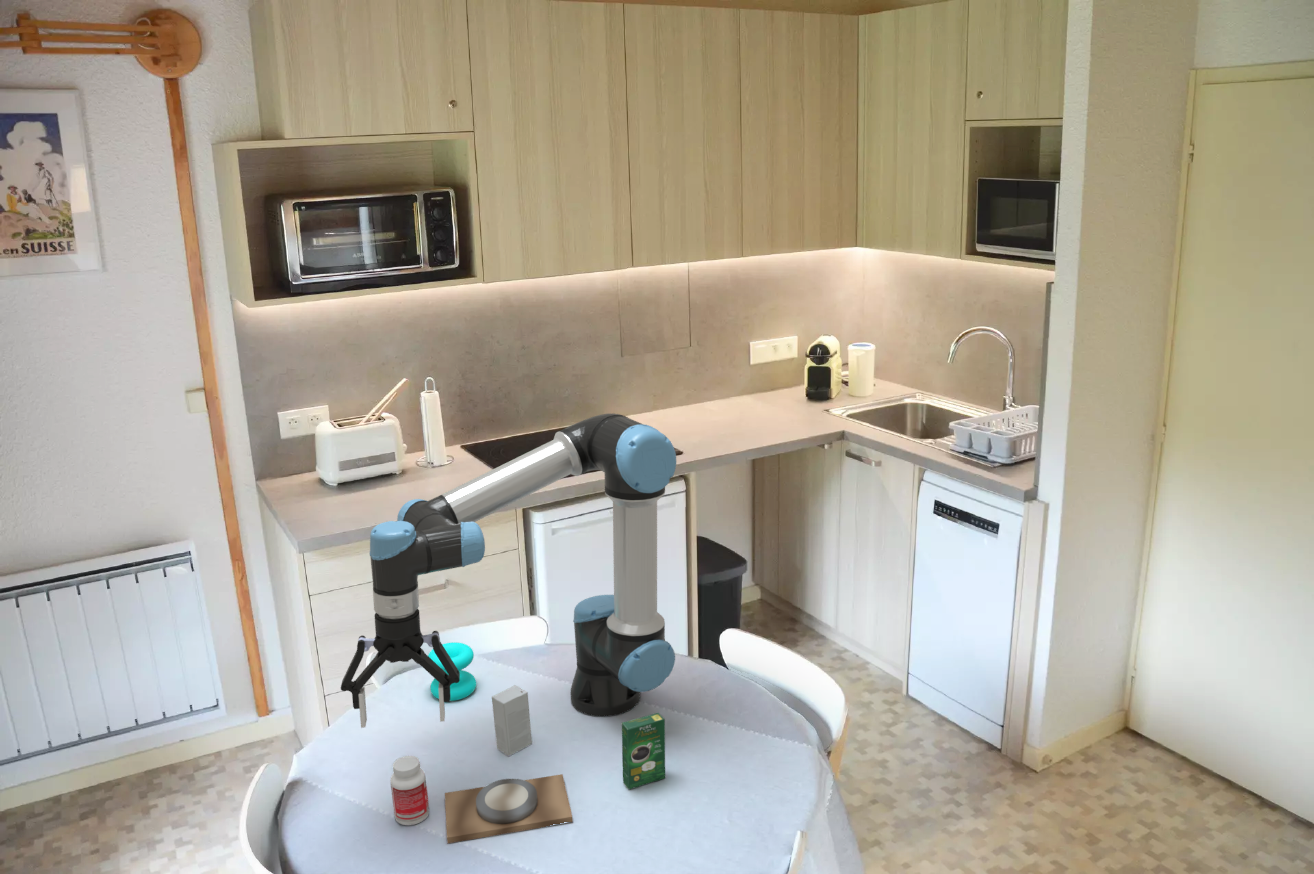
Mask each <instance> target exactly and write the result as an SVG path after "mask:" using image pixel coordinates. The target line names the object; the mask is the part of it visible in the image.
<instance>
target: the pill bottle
mask: <svg viewBox="0 0 1314 874" xmlns="http://www.w3.org/2000/svg"><path fill="white" fill-rule="evenodd" d="M420 762H421V761H420V758H418V757H417V756H414V755H405V756H402V757H399V758H397V759H396V760H395V761H394V762H393V764H392V772H393V773H392V775H391V777H390V789H391V796H392V797H391V798H392V804H393V805H392V806H393V813H394V814H393V815H394V819H395V820H396V822H397V823H398V824H399V825H402V826H413V825H417V824H419V823H421V822H423V821H425V820H426V819H427V818H428V816H429V815H430V804H429V793H428V786H427V778H426V773H425V771H424V769H423V768H421V763H420Z"/></svg>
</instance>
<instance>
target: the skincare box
mask: <svg viewBox="0 0 1314 874" xmlns="http://www.w3.org/2000/svg"><path fill="white" fill-rule="evenodd" d="M491 703H492V712H493V713H492V714H493V723H494V730H495V733H494V734H495V741H496V749H497V750H498V751H500V752H502V753H503V754H505V755H506V756H508V757H511V756H513V755H514V754H516V753H517V752H520V751H521V750H523V749H525V748H527V747H528V746H531V745H532V744H533V740H532V738H533V737H532V728H531V727H532V726H531V716H530V715H531V713H530V704H529V703H530V702H529V694H528V691H526V690H525V689H523V688H522V687H520V686H518V685H515V684H514V685H513V686H511V687H509V688H507V689H505V690H502V691H501V692H498V693H496V694H495V695H492V696H491Z"/></svg>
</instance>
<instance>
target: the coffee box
mask: <svg viewBox="0 0 1314 874" xmlns="http://www.w3.org/2000/svg"><path fill="white" fill-rule="evenodd" d="M665 726H666V720H665V717H663V716H662V715H661V714H660V713H659V712H655V713H652V714H649V715H645V716H642V717H638V718H633V719H631V720H627V721H623V722H621V753H622V755H621V759H622V762H621V763H622V783H623V786H625V788H626V789H627V790H631V789H637V788H640V787H642V786H645V785H648V784H652V783H653V782H654V783H655V782H658V781H660V780H663V779H666V727H665Z"/></svg>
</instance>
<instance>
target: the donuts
mask: <svg viewBox="0 0 1314 874" xmlns="http://www.w3.org/2000/svg"><path fill="white" fill-rule="evenodd" d="M441 644H442V645H443V647H444V648H445V650H446V651H447V653H448V655H449V656H450V658H451V659H452V661H453V663H454V664H455V666H456V667H457V669H458V671H459V672H460V681H459V682H458V683H452V684H451V685H450V701H449V702H455V701H459V700H463V699H465V698H467V697H469V696H470V695H472V694H473V693H474V691H475V690H476V687H477V679H476V678H475V675H474V674H472V673H471V672H469V671H466V670H464V669H465V668H467V667H468V666H470V664H471V663H472V662H473V660H474V657H475V655H474V654H475V653H474V650H473V648H472V647H471V646H470V645H468V644H465V643H463V642H447V643H446V642H445V643H441ZM427 656H428V657H430V658H431V659H432V660H433V661H434V662H435V663H436V664H437V665H438V666H439V667H440V668H441V669H442V670H444V671H445V672H446V673H447V671H446V670H445V668H444V666H443V665H442V663H441V662H440V660H439V659H438V657H437V655H436V654H435V652H434V650H433V649H431V650H430V651H429V653H428V655H427ZM447 674H448V673H447ZM448 675H449V674H448ZM433 678H434V677H433ZM429 689H430V692H431V695H432V696H433V697H434V698H436V699H438V700H439V682H438V681H437V680H436V679H435V678H434V679H432V681H431V683H430V688H429Z"/></svg>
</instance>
